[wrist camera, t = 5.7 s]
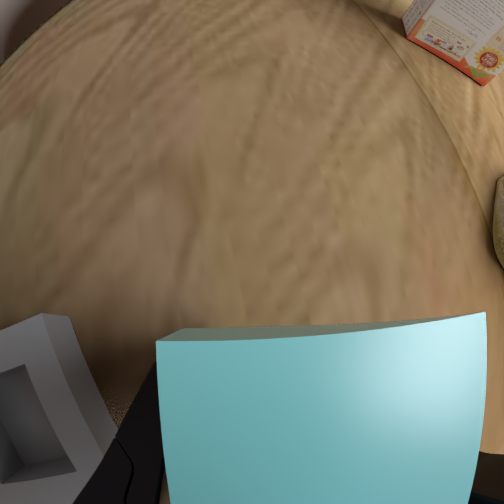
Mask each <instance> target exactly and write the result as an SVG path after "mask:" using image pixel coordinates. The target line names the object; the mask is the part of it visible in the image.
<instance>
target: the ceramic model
mask: <svg viewBox="0 0 504 504" xmlns="http://www.w3.org/2000/svg"><path fill="white" fill-rule="evenodd" d="M493 242H494V249H495V252H496V255H497V258H498V259H499V261H500V263H501V265H502V266H503V268H504V176H503V177H501V178H500V179H498V181H497V188H496V196H495V204H494V216H493Z"/></svg>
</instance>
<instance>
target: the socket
mask: <svg viewBox="0 0 504 504" xmlns="http://www.w3.org/2000/svg"><path fill="white" fill-rule="evenodd" d="M117 431H118V429H117V427H116V425H115V423H114V421H113V419H112V417H111V415H110V413H109V411H108V409H107V407H106V405H105V403H104V401H103V399H102V397H101V395H100V392H99V390H98V388H97V386H96V384H95V381H94V379H93V377H92V375H91V372H90V370H89V368H88V365H87V363H86V360H85V358H84V356H83V353H82V350H81V348H80V345H79V343H78V340H77V337H76V335H75V332H74V329H73V327H72V324H71V321H70V318H69V316H64V315H54V314H46V313H40V314H38V315H36V316H33V317H31V318H28V319H26V320H24V321H21V322H19V323H17V324H14V325H12V326H10V327H7V328H5V329H3V330H0V504H72V503H73V502H74V501H75V499H76V498H77V496H78V495H79V493H80V492H81V491H82V489H83V488H84V486H85V485H86V483H87V482H88V481H89V479H90V478H91V476H92V475H93V473H94V472H95V470H96V469H97V467H98V465H99V464H100V462H101V460H102V459H103V457H104V455H105V453H106V451H107V450H108V448H109V446H110V444H111V442H112V440H113V438H116V437H115V434H116V433H117Z"/></svg>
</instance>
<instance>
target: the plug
mask: <svg viewBox="0 0 504 504" xmlns="http://www.w3.org/2000/svg"><path fill="white" fill-rule="evenodd" d="M156 360H157V379H158V395H159V409H160V421H161V431H162V441H163V450H164V459H165V467H166V475H167V482H168V489H169V496H170V502H171V504H468V501H469V497H470V493H471V489H472V484H473V480H474V475H475V470H476V465H477V460H478V454H479V448H480V441H481V434H482V426H483V417H484V407H485V393H486V372H487V334H486V312H480V313H472V314H464V315H455V316H446V317H437V318H426V319H416V320H404V321H391V322H376V323H359V324H339V325H312V326H261V327H230V328H182V329H180V330H178V331H176V332H174V333H172V334H170V335H168V336H165V337H163V338H161V339H159V340H157V341H156Z"/></svg>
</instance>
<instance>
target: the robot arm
mask: <svg viewBox="0 0 504 504" xmlns="http://www.w3.org/2000/svg"><path fill="white" fill-rule="evenodd" d="M115 437H116V438H113V440H112V442H111V444H110V446H109V448H108V450H107V451H106V453H105V455H104V457H103V459H102V460H101V462H100V464H99V465H98V467H97V469H96V470H95V472H94V473H93V475H92V476H91V478H90V479H89V481H88V482H87V483H86V485H85V486H84V488H83V489H82V491H81V492H80V493H79V495H78V496H77V498H76V499H75V501H74V502H73V503H72V504H171V502H170V496H169V489H168V482H167V475H166V467H165V459H164V450H163V441H162V431H161V421H160V409H159V395H158V379H157V360H156V359H155V361H154V363H153V365H152V367H151V368H150V370H149V372H148V374H147V376H146V378H145V380H144V381H143V383H142V385H141V387H140V389H139V391H138V393H137V394H136V396H135V398H134V400H133V402H132V404H131V406H130V408H129V410H128V411H127V413H126V415H125V417H124V419H123V421H122V423H121V425H120V427H119V429H118V431H117V433H116V434H115ZM468 504H504V455H503V454H489V453H484V452H481V451H479V454H478V460H477V465H476V470H475V475H474V480H473V484H472V489H471V493H470V497H469V501H468Z"/></svg>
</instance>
